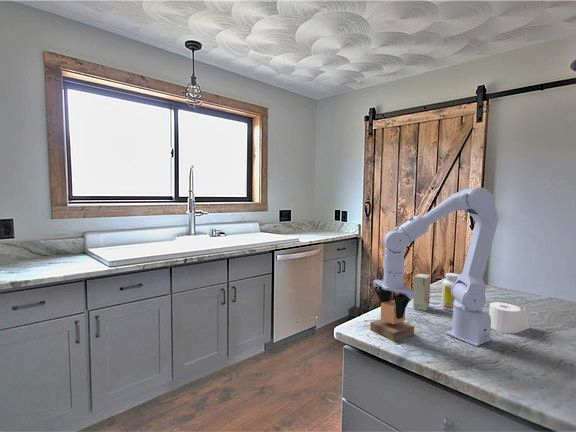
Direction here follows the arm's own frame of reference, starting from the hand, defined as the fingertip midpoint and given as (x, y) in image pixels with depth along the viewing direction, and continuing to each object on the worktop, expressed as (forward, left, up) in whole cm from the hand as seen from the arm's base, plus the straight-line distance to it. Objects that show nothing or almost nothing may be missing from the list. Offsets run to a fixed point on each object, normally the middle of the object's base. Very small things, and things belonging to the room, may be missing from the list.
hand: (392, 315), depth 99 cm
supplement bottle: (+3, -35, -6) cm, 36 cm away
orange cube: (0, 0, -2) cm, 2 cm away
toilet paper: (-17, -35, -6) cm, 39 cm away
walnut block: (0, 0, -6) cm, 6 cm away
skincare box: (+9, -26, -6) cm, 28 cm away
